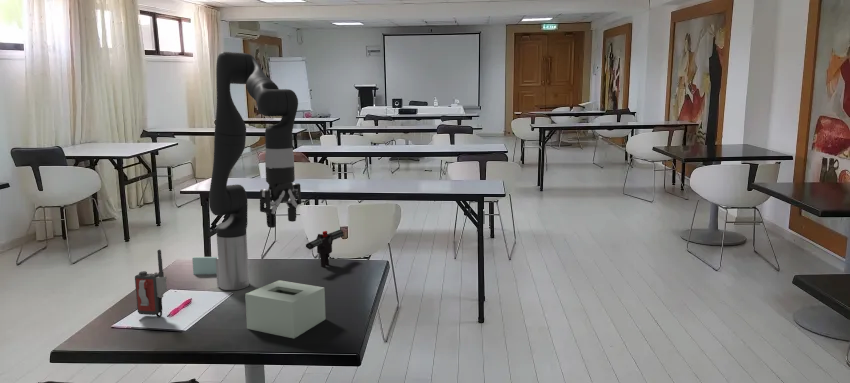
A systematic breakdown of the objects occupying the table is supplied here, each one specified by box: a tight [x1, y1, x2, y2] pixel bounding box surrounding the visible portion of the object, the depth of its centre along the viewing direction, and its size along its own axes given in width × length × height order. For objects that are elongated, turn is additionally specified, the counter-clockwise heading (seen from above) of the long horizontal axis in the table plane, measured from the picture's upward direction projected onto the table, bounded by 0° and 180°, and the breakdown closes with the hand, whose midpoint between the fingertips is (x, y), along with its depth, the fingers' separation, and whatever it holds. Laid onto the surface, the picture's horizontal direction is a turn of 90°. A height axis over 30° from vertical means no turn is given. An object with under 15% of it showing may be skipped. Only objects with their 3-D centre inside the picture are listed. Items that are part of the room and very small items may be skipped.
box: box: [244, 279, 326, 339], centre depth 174 cm, size 16×14×10 cm
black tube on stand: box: [305, 229, 344, 268], centre depth 225 cm, size 5×20×15 cm, turn 155°
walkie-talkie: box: [134, 249, 168, 318], centre depth 180 cm, size 9×4×20 cm, turn 79°
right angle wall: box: [192, 256, 218, 276], centre depth 225 cm, size 12×12×8 cm
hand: (282, 224), depth 172 cm, fingers open, 8 cm apart
